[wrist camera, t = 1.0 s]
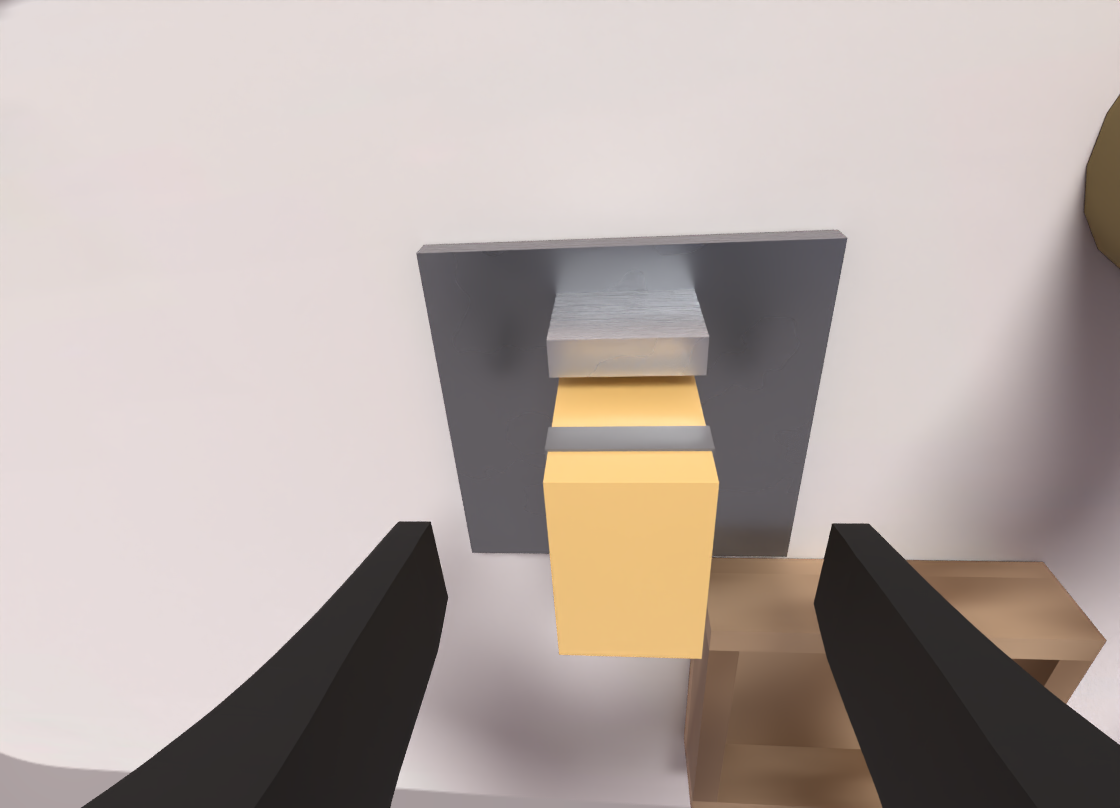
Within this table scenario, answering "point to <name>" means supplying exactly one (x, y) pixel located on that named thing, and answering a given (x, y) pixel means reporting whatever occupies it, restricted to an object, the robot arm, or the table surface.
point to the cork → (1105, 187)
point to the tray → (810, 689)
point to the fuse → (630, 515)
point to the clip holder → (633, 361)
